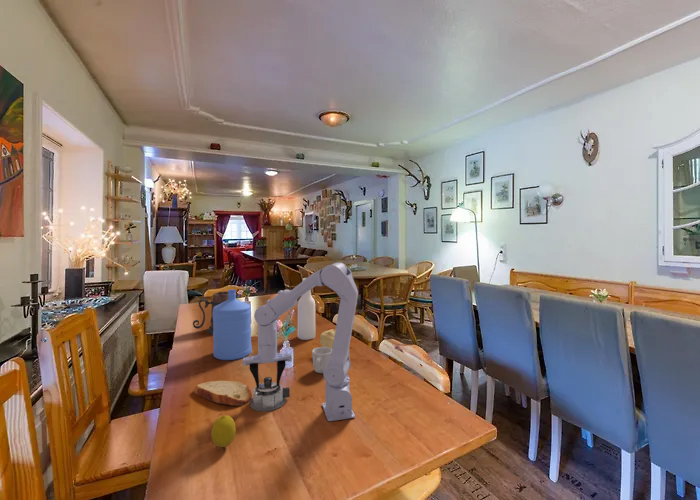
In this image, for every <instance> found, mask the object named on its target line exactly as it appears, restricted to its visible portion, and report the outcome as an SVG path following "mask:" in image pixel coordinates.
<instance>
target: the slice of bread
mask: <svg viewBox="0 0 700 500" xmlns="http://www.w3.org/2000/svg"><path fill="white" fill-rule="evenodd" d="M193 392H194V394H196V395H197V396H199V397H201V398H203V399H205V400H208V401H209V402H212V403H216V404H218V405H224V406H231V407H240V406H245V405H246V406H247V404H248V403H249V404H250V401H251V399H252V398H253V393H252V391H251V389H250V387H249V386H248V385H247V384H246V383H244V382H242V381H237V380H236V381H235V380H213V381H212V380H211V381H210V380H209V381H205V382H202V383H199V384H196V386H195V388H194V391H193Z"/></svg>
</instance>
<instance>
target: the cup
mask: <svg viewBox="0 0 700 500" xmlns="http://www.w3.org/2000/svg"><path fill="white" fill-rule="evenodd" d="M331 352H332V349H331V348H328V347H322V346H318V347H315V348H313V349H312V350H311V354H312V355H311V356H312V365H313V370H314V372H316V373H318V374H324V370H325V368H326V367H327V366H328V363H329V359H330V355H331Z"/></svg>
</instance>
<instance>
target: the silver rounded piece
mask: <svg viewBox="0 0 700 500" xmlns="http://www.w3.org/2000/svg"><path fill="white" fill-rule="evenodd" d="M277 388H278V386H277V382H275V381H273V378H272V377H271V376H266V377H264V378H263V382H261V383H259V388H258V390H259V391H260V392H263V394H261V395H262V396H266V395H274V394H275V393H274V392H273V391H275V390H276V389H277Z"/></svg>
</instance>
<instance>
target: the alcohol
mask: <svg viewBox="0 0 700 500" xmlns="http://www.w3.org/2000/svg"><path fill="white" fill-rule="evenodd" d="M306 278H307V277H304V278H302V281H301V282H303V281H304V280H305V279H306ZM315 337H316V302H315V298H313V296H312V289H311V290H309V291H308V292H306V293H305V294H303V295H302V296H300V297H299V298H298V299H297V338H298V339H299V340H302V341H309V340H314V339H315Z"/></svg>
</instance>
